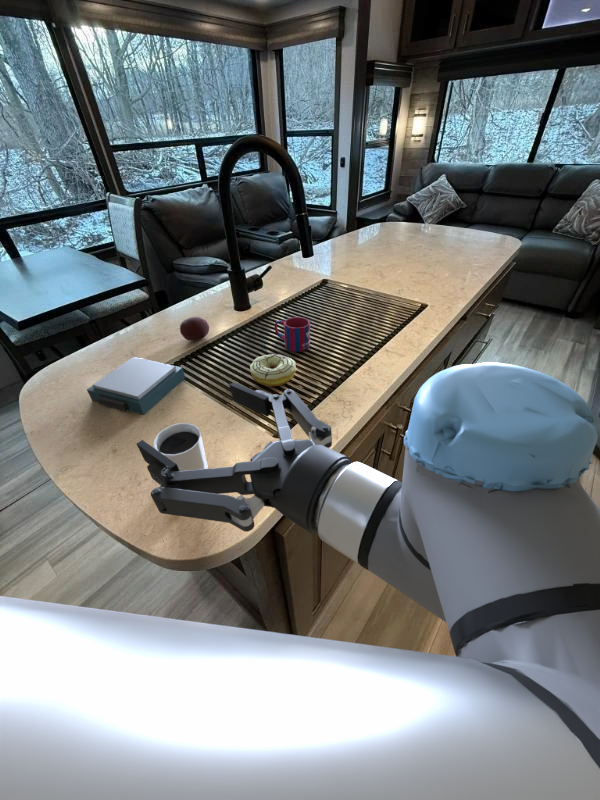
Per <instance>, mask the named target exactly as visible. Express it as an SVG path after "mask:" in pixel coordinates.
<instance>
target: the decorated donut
mask: <svg viewBox="0 0 600 800" xmlns="http://www.w3.org/2000/svg"><path fill="white" fill-rule="evenodd" d="M249 369H250V375H251V377H252V378H253V380H254V381H255V382H256V383H258V384H260V385H262V386H266V387H278V386H284V385H285V384H287V383H288V382H290V381H291V380H292V379H293V378H294V376H295V374H296V372H297V366H296V361H295V360H294V359H292V358H291V357H289V356H286V355H282V354H279V353H278V354H277V353H273V354H264V355H261V356H257V357H256V358H255V359H254V360H253V361H252V362H251V364H250V366H249Z"/></svg>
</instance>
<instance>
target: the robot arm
mask: <svg viewBox="0 0 600 800" xmlns="http://www.w3.org/2000/svg"><path fill="white" fill-rule="evenodd" d="M229 389H230V393H231V398H232V401H233V402H234V403H236V404H239V405H240V406H243V407H245V408H248V409H249V410H251V411H253V412H256V413H258V414H260V415H262V416H265V417H270V416H271V415H272V413H273V418H274V422H275V426H276V431H277V436H278V440H275V441H269V442H268V443H267V444H266V445H265V446H264V447H263V449H262V450H261V451H259V452H257V453H255V454H254V455H253V456H251V458H250V459H249V460H250V461H240V462H236V463H234V465H233V466H223V467H211V468H208V469H198V470H186V471H179V468H178V466H177V464H176V463H174V462H173V461H172V460H170V459H169V458H167V457H166V456H165V455H163V454H162V453H160V452H159V451H157V450H156V449H155V448H154V446H153V445H151V444H149V443H147V442H146V441H145V440H143V439H141V440H140V441H138V442H137V443H135V444H136V447H137V449H138V450H139V453H140V454H141V456H142V458H143V461H144V462H145V463H147V464H148V465H147V466H146V468H147V471H148V473H149V475H150V477H151V479H152V480H153V481H154V482H155V483H156V484H158V485H160V486H157V487H155V488H153V489H152V490H151V491H150V497H151V499H152V500H153V502H154V504H155V507H156V508H157V510H158V512H159V513H160V514H163V515H170V516H177V517H184V518H185V517H186V518H191V519H198V520H204V521H205V520H206V521H212V522H220V523H225V524H226V523H228V524H231V525H233V526H234V527H236V528H238V529H240V530H241V531H243V532H245V533H247V532H250V531H253V530H254V528H255V518H256V517H257V516H258V514H259V513H260V511H261V510H262V509H263V508H264V507H268V508H272V509H275V510H276V511H278V512H279V513H280V514H281V515H283V516H284V517H285V518H286V519H288V520H289V521H291V522H293V523H294V524H296V525H297V526H299V527H301V528H302V529H304V530H305V531H307V532H308V533H309V534H313V535H314V534H317V535H318V537H319V539H320V541H322V542H324V543H325V544H327V545H328V546H330V547H331V548H333V549H334V550H336V551H337V552H339V553H341V554H342V555H344V556H346V557H347V558H348V559H350V560H351V561H353V562H354V563H356V564H358V565H360V567H362V568H363V569H365V570H366V571H368V572H370V573H371V574H373V575H375V576H376V577H378V578H380V580H382V581H384V582H385V583H386V584H388V585H389V586H391V587H393V588H394V589H396V591H398V592H400V593H401V594H402V595H404V596H406V597H407V598H409V599H410V600H412V601H413V602H415V603H416V604H418V605H419V606H420V607H422V608H423V609H425V610H426V611H428V612H430V613H431V614H433V616H436V617H437V618H438V619H440V620H441V621H443V622H445V623H446V626H447V629H448V632H449V637H450V641H451V645H452V649H453V652H454V654H455V656H454V655H449V654H448V655H447V654H440V653H433V652H426V651H417V650H409V649H402V648H394V647H388V646H387V647H386V646H379V645H374V644H373V645H371V644H366V643H365V644H364V643H359V642H358V643H357V642H350V641H341V640H334V639H326V638H321V637H314V636H313V637H312V636H305V635H299V634H297V635H296V634H289V633H283V632H282V633H281V632H275V631H267V630H259V629H252V628H246V627H245V628H244V627H237V626H229V625H221V624H214V623H206V622H200V621H199V622H198V621H192V620H186V619H185V620H184V619H176V618H168V617H161V616H154V615H147V614H138V613H131V612H123V611H116V610H110V609H102V608H101V609H100V608H95V607H94V608H93V607H87V606H78V605H72V604H71V605H70V604H63V603H57V602H56V603H55V602H49V601H48V602H47V601H41V600H34V599H33V600H32V599H27V598H18V597H11V596H3V595H0V800H600V506H598V504H597V503H596V502H595V500H594V499H593V498H592V497H591V496H590V495H589V493H588V492H587V490H585V488H584V487H583V485H582V484H581V480H580V478H581V476H582V475H583V474H585V473H586V471H589V470H590V465H592V462H591V459H592V456H593V453H594V450H595V447H596V444H597V441H598V437H599V436H598V429H597V426H596V419H595V418H594V415H593V410H592V408H591V407H590V405H589V404H588V402H587V400H585V399H584V398H583V397H582V396H581V395H580V394H579V393H578V392H577V391H575V390H574V389H573V388H572V387H570V386H569V385H567V384H565V382H563V381H560V380H559V379H557V378H555V377H553V376H551V375H548V374H546V373H544V372H541V371H537V370H534V369H532V368H528V367H524V366H520V365H516V364H511V363H503V362H494V361H493V362H491V361H489V362H487V361H486V362H482V363H473V364H472V363H471V364H465V363H463V364H458V365H453V366H451V367H447V368H446V369H443V370H441V371H439V372H437V373H435V374H433V375H432V376H431V377H429V378H428V379H427V380H426V381H425V382H424V383H423V384H422V385H421V386H420V387H419V389H418V391H417V393H416V394H415V397H414V400H413V405H412V408H411V409H412V410H411V413H410V417H409V418H410V419H409V423H408V427H407V430H406V431H405V433H404V436H403V446H404V448H405V449H404V459H403V469H402V479H401V480H402V481H400V480H398V479H396V478H393V477H391V476H390V475H387V474H385V473H384V472H381V471H379V470H377V469H376V468H373V467H371V466H369V465H367V464H364V463H362V462H361V461H354V462H352V459H351V458H350V457H348V456H347V455H344V454H342V453H340V452H338V451H336V450H334V449H331V447H332V446H333V438H332V436H333V435H332V433H333V432H332V426H331V425H329V424H328V423H326V422H324V421H322V420H320V419H318V418H317V416H316V415H315V414H314V413H313V412H312V411H311V409H310V408H309V407H308V406H307V405H306V403H304V401H303V400H302V399H301V397H300V396H299V395H298V394H297V393H296V392H295V390H293V389H291V388H287V389H285V390H284V391H283V393H282V394H277V393H275V394H271V393H268V392H267V391H264V390H261V389H256V390H253V389H251V388H249V387H246V386H244V385H241V384H239V383H237V382H232V383H230V384H229ZM285 410H287V411H288V412H289V414H290V415H291V416H292V418H293V419H294V420H295V421H296V423H297V424H298V425H299V427H300V428H301V429H302V431H303V432H304V433H305V435H306V436H307V437H308V438H309V439H308V438H307V439H306V438H305V439H293V434H292V432H291V428H290V425H289V423H288V419H287V416H286V412H285ZM247 475H249V477H250V481H248V480H247V477H246V476H247ZM233 493H237V494H239V495H238V496H237V497H234V496H232V495H229V494H233ZM249 495H253V496H251V497H244V496H249Z"/></svg>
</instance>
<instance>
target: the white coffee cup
mask: <svg viewBox="0 0 600 800" xmlns="http://www.w3.org/2000/svg"><path fill="white" fill-rule="evenodd" d="M153 448H155V449H156V450H157V451H159V452H160V453H162V454H163V455H165V456H166V457H167V458H169V459H170V460H172V461H173V462H174V463H176V464H177V466H178V468H179V471H186V470H198V469H209V466H208V462H207V457H206V451H205V448H204V441H203V438H202V433H201V429H200V428H199V427H198V426H197V425H195V424H193V423H189V422H178V423H175V424H171V425H169V426H167V427H165V428H163V429H162V430H161V431H160V432H159V433H157V434H156V436H155V437H154V440H153Z"/></svg>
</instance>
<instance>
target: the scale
mask: <svg viewBox="0 0 600 800" xmlns="http://www.w3.org/2000/svg"><path fill="white" fill-rule="evenodd" d="M185 379H186V375H185V372H184V368H183V367H181V366H177V365H172V364H167V363H163V362H158V361H154V360H149V359H146V358H145V359H144V358H141V357H136V356H133V357H131V358H130V359H128V360H126V361H125V362H124V363H123V364H121V365H119V366H118V367H116V368H115V369H113V370H112V371H110V372H109V373H107V374H106V375H105V376H103V377H102V378H101V379H99V380H97V381H96V382H95V383H93V384H92V385H91V386H90V387H88V388H87V389H86V391H87V393H88V395H89V397H90V399H91V401H93V402H95V403H98V404H99V405H100V406H104V407H108V408H111V409H114V410H118V411H122V412H125V413H126V412H127V411H128V412H132V413H135V414H138V415H143V416H145V415H146V414H147V413H148V412H149V411H150V410H152V409H153V408H154V407H155V406H157V404H158V403H160V402H161V401H162V400H163V399H164V398H165V397H167V395H169V394H170V393H171V392H172V391H173V390H174V389H175V388H176V387H178V386H179V385H180V384H181V383H182V382H183V381H185Z"/></svg>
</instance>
